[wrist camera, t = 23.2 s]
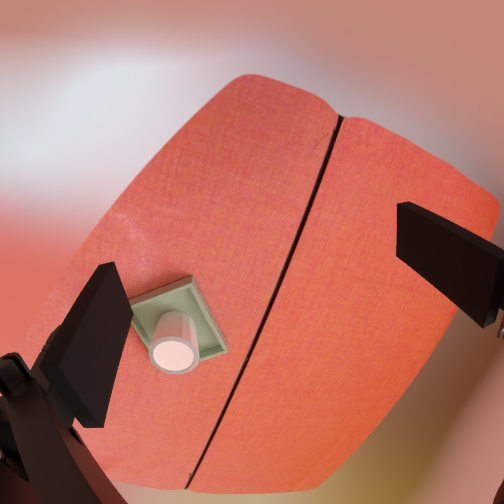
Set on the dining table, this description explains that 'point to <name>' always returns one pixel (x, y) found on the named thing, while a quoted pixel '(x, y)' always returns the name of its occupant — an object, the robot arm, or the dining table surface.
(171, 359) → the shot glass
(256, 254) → the dining table surface
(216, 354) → the green tray
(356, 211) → the dining table surface
